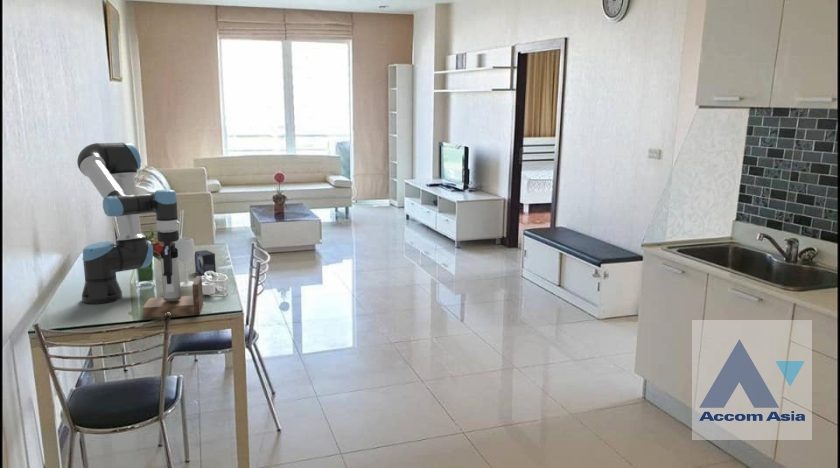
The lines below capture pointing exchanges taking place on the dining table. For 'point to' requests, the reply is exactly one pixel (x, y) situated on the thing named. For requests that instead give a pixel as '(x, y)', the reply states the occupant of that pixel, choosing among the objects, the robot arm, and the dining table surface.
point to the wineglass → (185, 256)
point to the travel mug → (175, 270)
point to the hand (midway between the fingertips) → (171, 289)
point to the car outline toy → (209, 285)
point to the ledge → (176, 303)
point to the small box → (204, 262)
